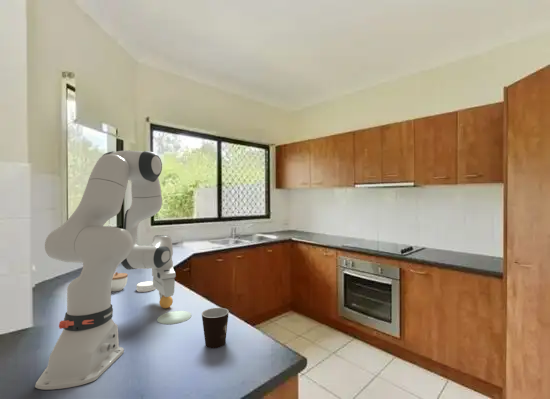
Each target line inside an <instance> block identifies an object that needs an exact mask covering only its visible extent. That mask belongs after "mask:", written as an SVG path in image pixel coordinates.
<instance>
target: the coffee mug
mask: <svg viewBox="0 0 550 399" xmlns="http://www.w3.org/2000/svg"><path fill="white" fill-rule="evenodd" d="M229 311H230V310H229V309H227V308H226V307H225V308H223V307H211V308H208V309H205V310H204V311H202V312H201V318H202V328H203V336H204V337H203V338H204V342H205V343H204V344H205V347H206V348H208V349H219V348H222V347H224V346H225V345H226V340H227V332H228V323H229V322H228V321H229Z"/></svg>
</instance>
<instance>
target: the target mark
mask: <svg viewBox="0 0 550 399" xmlns="http://www.w3.org/2000/svg"><path fill="white" fill-rule="evenodd" d="M191 318H192V313H191V312H190V311H186V310H175V311H169V312H166V313H163V314H161V315H160V316H158V317H157V320H156V321H157V323H160V324H162V325H175V324H179V323H180V324H181V323H183V322H186V321H188V320H190V319H191Z"/></svg>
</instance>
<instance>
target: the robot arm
mask: <svg viewBox="0 0 550 399" xmlns="http://www.w3.org/2000/svg"><path fill="white" fill-rule="evenodd" d="M162 170H163V163H162V159H161V157H160V156H159V155H158V153H156V152H153V151H150V150H149V151H148V150H144V151H142V150H129V149H128V150H118V151H114V150H112V151H108V152H106V153H104V154H102V155H101V156H100V157H99V158H98V159H97V161H96V163H95V165H94V167H93V169H92V170H91V173H90V175H89V177H88V180H87V183H86V186H85V189H84V192H83V195H82V197H81V199H80V202H79V203H78V206H77V207H76V209H75V210H74V211H73V212H72V214H71V215H70V217H69V218H68V219H67V220H66V221H65V222H64V223H63V224H62V225H60V226H59V227H57V228H56V229H54V230H52V231H51V232H50V233H49V234H48V235H47V237H46V239H45V242H44V250H45V253H46V254H47V255H48V257H49V258H51V259H53V260H56V261H60V262H64V263H81V264H82V270H81V272H80V274H79V276H77V277H76V278H74V279H73V280H71V281H70V282H69V284H68V285H67V288H66V312H65V315H64V318H63V320H59V323H58V329H62V331H61V333H60V335H59V337H58V339H57V341H56V343H55V345H54V347H53V349H52V351H51V353H50V354H49V357H48V362H47V367H46V368H45V369H44V371H43V372H42V373H41V374H40V376H39V378H38V379H37V381H36V382H35V385H34V388H36V389H38V390H44V391H45V390H48V391H49V390H61V389H68V388H74V387H79V386H82V385H86V384H89V383H91V382H94V381H96V380H97V379H98V378H99V377H101V375H103V374H104V372H106V371H107V370H108V369H109V368H110V367H111V366H112V365H113V364H114V363H115V362H116V361H117V360H118V359H119V358H120V357H121V356H122V355H123V354H124V353H125V349H124V348H123V347H121V346H120V345H119V344H120V343H119V329H118V328H119V327H118V324H117V323H116V322H115V321H114V320H113V316H114V315H113V312H114V308H113V304H112V291H111V285H112V279H113V275H114V274H115V272H117V269H118V267H119V266H120V265H121V266H122V267H123V268H124V269H125V270H129V271H130V270H137V269H139V270H141V269H142V270H146V269H147V270H148V269H151V276H152V281H153V286H154V287H155V288H156V289H155V290H156V291H158V295H159V300H160V299H161V298H162V297H163V296H165V297H169V296H171V297H173V296H174V294H175V282H176V281H175V278H176V277H177V275H176V271H175V269H174V261H173V254H174V249H173V241H172V238H171V236H170V235H166V234H165V235H164V234H162V235H159V234H158V235H154V236H153V238H152V241H151V242H152V243H151V244H149V245H139V244H138V243H137V239H138V238H137V237H138V226H139V224H140V223H141V222H142V221H145V220H147V219H149V218H152V217H153V216H156V215H157V214H158V213H159V212H160V210H161V209H162V206H163V205H162V204H163V197H162V188H161V183H160V179H159V177H160V175H161V173H162ZM128 181H130V183H131V188H130V189H131V192H130V193H131V204H130V207H129V208H128V209H127V210H126V211H125V214H124V219H123V227H121V228H120V227H117V226H111V225H110V226H109V225H108V226H107V225H106V226H105V224H106V223H107V222H109V221H110V219H112V218H115V216H117V215H118V214H119V213H120V212H121V209H122V205H123V202H124V199H125V195H126V192H127V191H126V190H127V186H128Z"/></svg>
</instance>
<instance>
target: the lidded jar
mask: <svg viewBox="0 0 550 399" xmlns="http://www.w3.org/2000/svg"><path fill="white" fill-rule="evenodd" d="M127 283H128V273H125V272H119V273H118V271H115V273H114V275H113V279H112V285H111V292H119V291H122V290H124V288H125V287H126V286H127Z"/></svg>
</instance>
